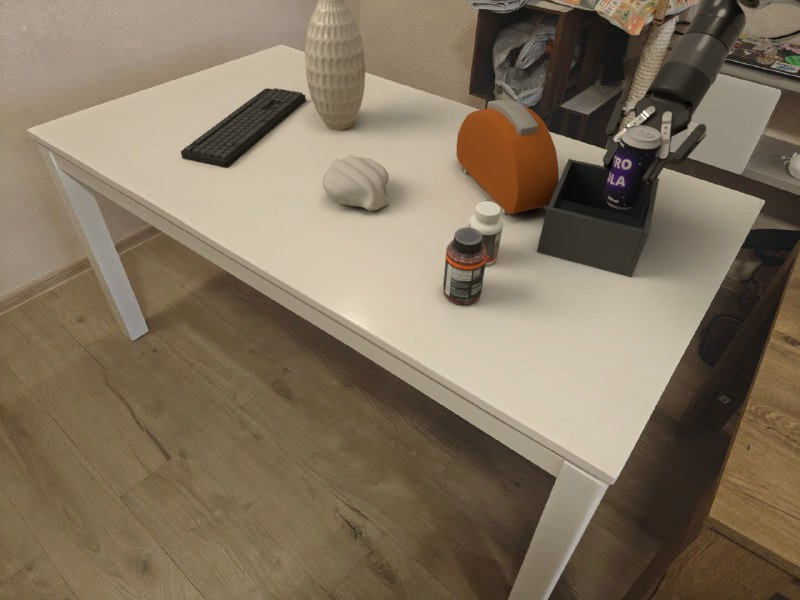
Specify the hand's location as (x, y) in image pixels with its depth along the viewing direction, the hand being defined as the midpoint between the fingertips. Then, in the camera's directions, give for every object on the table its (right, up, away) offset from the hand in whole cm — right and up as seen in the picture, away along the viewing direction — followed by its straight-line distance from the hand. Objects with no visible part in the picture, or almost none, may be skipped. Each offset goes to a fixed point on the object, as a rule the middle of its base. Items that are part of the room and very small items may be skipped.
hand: (625, 174), depth 83 cm
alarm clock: (-15, +3, +24) cm, 29 cm away
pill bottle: (-21, -12, +9) cm, 25 cm away
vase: (-48, +22, +44) cm, 69 cm away
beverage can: (+1, -3, +5) cm, 6 cm away
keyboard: (-69, +21, +42) cm, 83 cm away
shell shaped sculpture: (-43, 0, +21) cm, 48 cm away
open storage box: (0, -8, +13) cm, 15 cm away
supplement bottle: (-25, -18, +2) cm, 31 cm away
